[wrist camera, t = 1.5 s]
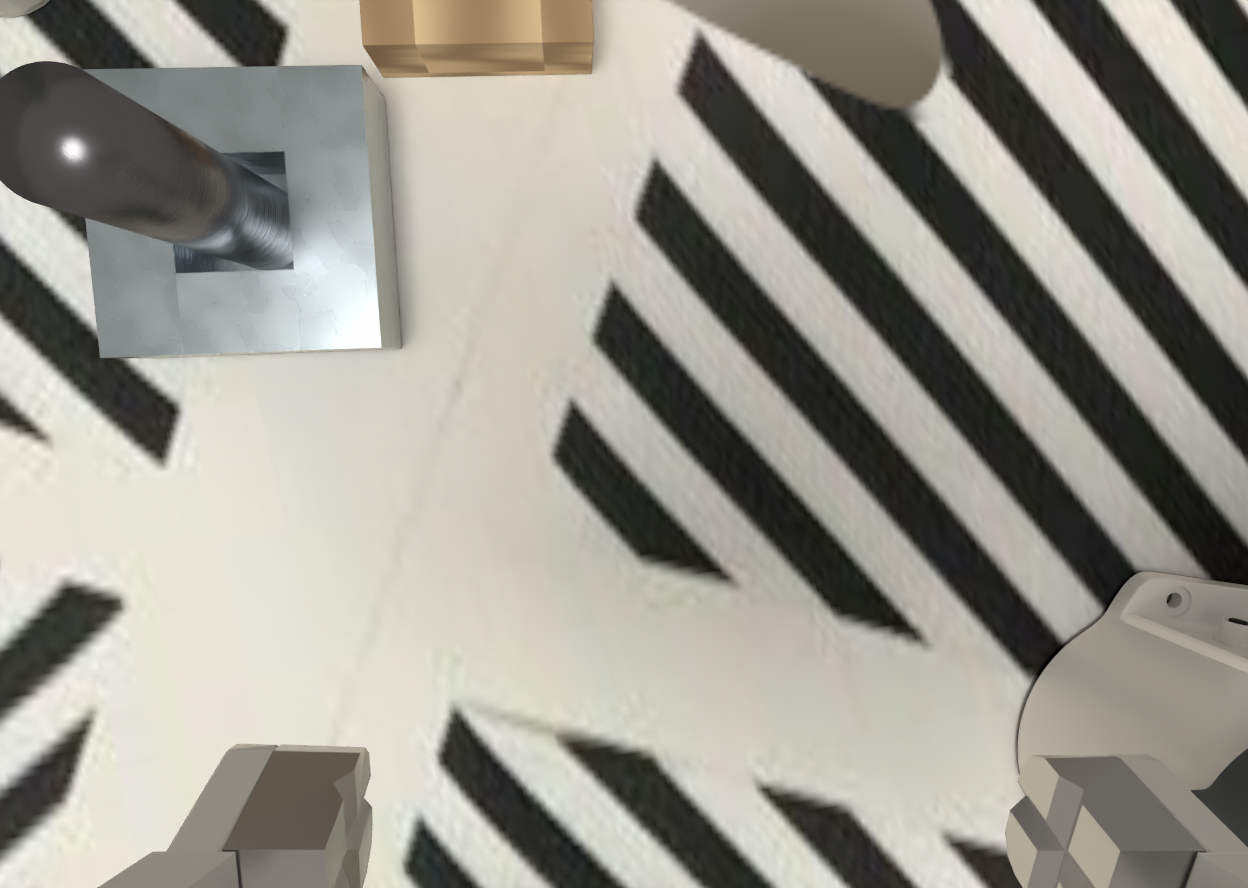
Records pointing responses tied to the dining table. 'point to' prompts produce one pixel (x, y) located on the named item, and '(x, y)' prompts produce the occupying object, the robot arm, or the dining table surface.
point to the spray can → (19, 7)
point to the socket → (319, 218)
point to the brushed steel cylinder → (133, 169)
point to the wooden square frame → (478, 37)
